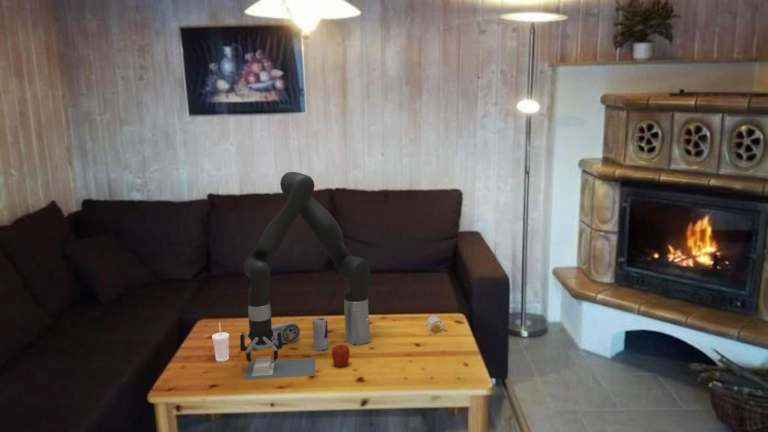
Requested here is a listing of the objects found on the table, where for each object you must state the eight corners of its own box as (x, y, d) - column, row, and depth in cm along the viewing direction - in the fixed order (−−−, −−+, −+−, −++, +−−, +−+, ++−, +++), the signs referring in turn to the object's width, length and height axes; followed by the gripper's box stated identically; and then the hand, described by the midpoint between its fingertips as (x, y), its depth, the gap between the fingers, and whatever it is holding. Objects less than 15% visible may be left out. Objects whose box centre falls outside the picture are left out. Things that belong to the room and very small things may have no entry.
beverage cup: (215, 363, 220) (212, 326, 218) (212, 357, 226) (209, 321, 223) (232, 359, 223) (230, 323, 221) (228, 353, 229) (226, 318, 226)
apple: (343, 371, 212) (342, 351, 210) (328, 367, 215) (327, 347, 213) (353, 364, 217) (352, 344, 215) (339, 361, 220) (338, 341, 219)
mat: (315, 359, 222) (315, 357, 222) (315, 376, 208) (315, 374, 208) (248, 363, 220) (248, 362, 219) (243, 381, 206) (243, 379, 206)
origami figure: (447, 335, 242) (447, 323, 241) (426, 336, 241) (426, 324, 240) (442, 324, 253) (442, 312, 252) (422, 325, 253) (421, 314, 252)
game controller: (253, 353, 229) (252, 332, 227) (251, 351, 231) (250, 330, 229) (301, 341, 239) (300, 320, 238) (298, 339, 241) (297, 319, 240)
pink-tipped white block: (269, 373, 210) (269, 365, 209) (254, 374, 209) (254, 366, 208) (271, 364, 217) (271, 356, 217) (257, 364, 217) (256, 356, 216)
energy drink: (330, 348, 231) (329, 318, 229) (324, 353, 226) (323, 323, 224) (317, 346, 233) (316, 316, 231) (311, 352, 228) (310, 321, 226)
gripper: (237, 321, 205) (240, 366, 208) (280, 318, 206) (282, 364, 210) (240, 313, 212) (243, 357, 216) (281, 311, 214) (284, 355, 217)
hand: (262, 360), depth 213 cm, fingers open, 8 cm apart
